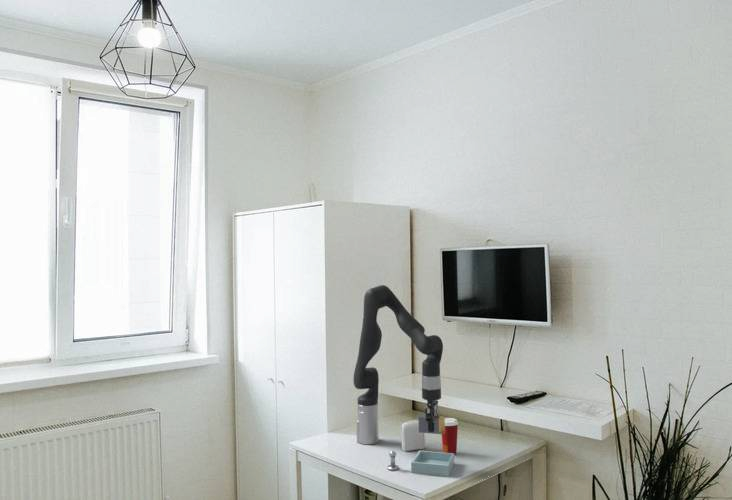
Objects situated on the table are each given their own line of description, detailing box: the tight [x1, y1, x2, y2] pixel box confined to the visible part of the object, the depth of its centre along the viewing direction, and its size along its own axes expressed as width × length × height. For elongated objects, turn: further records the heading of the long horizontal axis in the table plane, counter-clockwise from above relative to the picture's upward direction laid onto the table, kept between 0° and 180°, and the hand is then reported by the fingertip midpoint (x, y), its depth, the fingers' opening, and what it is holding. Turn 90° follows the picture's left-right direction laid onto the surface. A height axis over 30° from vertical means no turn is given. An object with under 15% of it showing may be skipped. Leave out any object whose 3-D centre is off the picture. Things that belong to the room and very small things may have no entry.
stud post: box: [386, 450, 399, 472], centre depth 228 cm, size 4×4×7 cm
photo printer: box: [400, 419, 426, 452], centre depth 251 cm, size 10×4×12 cm, turn 107°
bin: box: [410, 449, 455, 477], centre depth 228 cm, size 14×14×4 cm
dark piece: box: [418, 414, 446, 435], centre depth 228 cm, size 4×10×6 cm, turn 72°
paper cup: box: [441, 417, 459, 456], centre depth 245 cm, size 8×8×14 cm
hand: (432, 429), depth 228 cm, fingers closed on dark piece, 4 cm apart
